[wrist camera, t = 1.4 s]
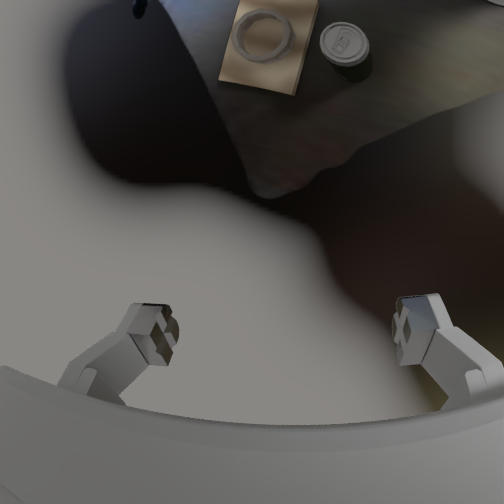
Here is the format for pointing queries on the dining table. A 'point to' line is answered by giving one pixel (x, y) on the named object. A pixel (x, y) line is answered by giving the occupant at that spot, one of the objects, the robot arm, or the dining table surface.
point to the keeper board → (269, 43)
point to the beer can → (347, 51)
